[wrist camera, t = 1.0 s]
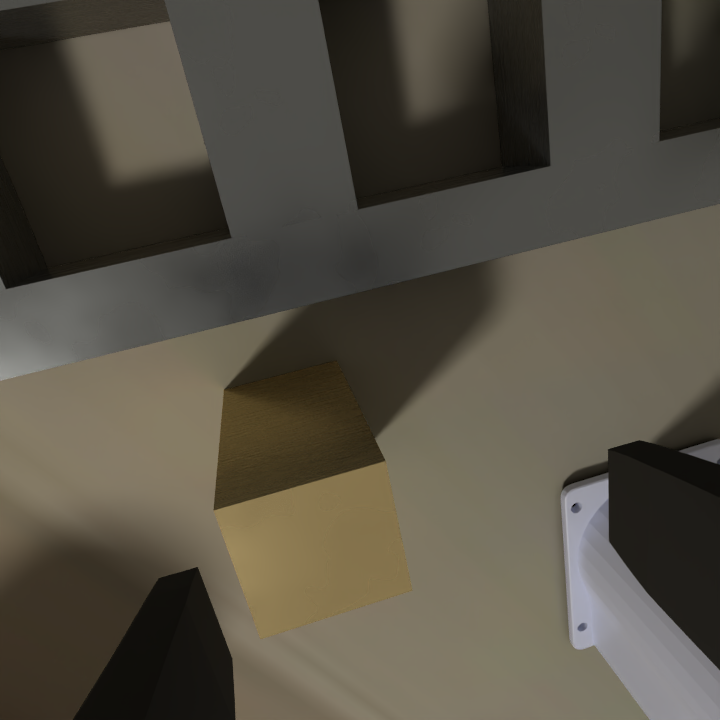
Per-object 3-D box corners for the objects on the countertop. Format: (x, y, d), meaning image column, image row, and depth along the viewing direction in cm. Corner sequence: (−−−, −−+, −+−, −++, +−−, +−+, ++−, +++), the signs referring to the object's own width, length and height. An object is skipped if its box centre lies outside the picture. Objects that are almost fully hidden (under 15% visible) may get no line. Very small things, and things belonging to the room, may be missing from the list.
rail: (786, 165, 20) (874, 165, 17) (3, 353, 16) (-46, 392, 14) (822, -180, 16) (942, -253, 13) (-183, -30, 13) (-302, -85, 10)
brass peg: (358, 455, 20) (412, 590, 14) (255, 485, 20) (260, 639, 13) (336, 360, 19) (385, 461, 12) (223, 389, 18) (213, 510, 12)
